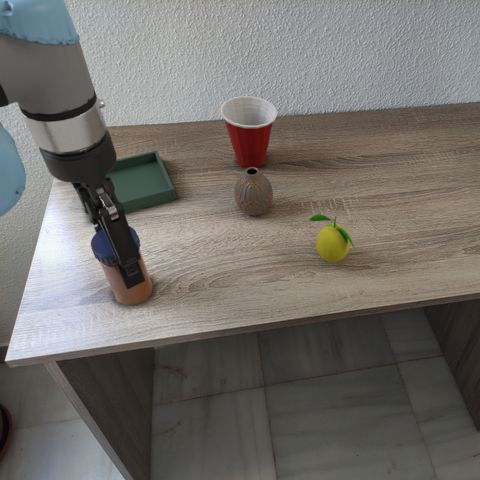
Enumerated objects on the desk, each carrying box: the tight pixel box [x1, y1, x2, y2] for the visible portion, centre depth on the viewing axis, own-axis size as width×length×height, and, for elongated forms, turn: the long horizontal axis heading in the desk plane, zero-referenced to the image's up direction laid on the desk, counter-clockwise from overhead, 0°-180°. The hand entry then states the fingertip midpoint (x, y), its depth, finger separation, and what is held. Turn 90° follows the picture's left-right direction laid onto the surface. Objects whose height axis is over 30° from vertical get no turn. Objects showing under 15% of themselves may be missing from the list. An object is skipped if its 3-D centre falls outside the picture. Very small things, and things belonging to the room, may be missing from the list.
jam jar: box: [99, 247, 154, 306], centre depth 69 cm, size 6×6×11 cm
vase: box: [233, 167, 274, 217], centre depth 84 cm, size 7×7×9 cm
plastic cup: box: [219, 95, 278, 169], centre depth 93 cm, size 11×11×12 cm
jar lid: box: [90, 225, 142, 265], centre depth 65 cm, size 6×6×2 cm
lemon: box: [308, 213, 355, 263], centre depth 76 cm, size 7×6×10 cm
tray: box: [88, 150, 178, 219], centre depth 89 cm, size 15×13×2 cm
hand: (125, 269), depth 69 cm, fingers closed on jar lid, 6 cm apart
